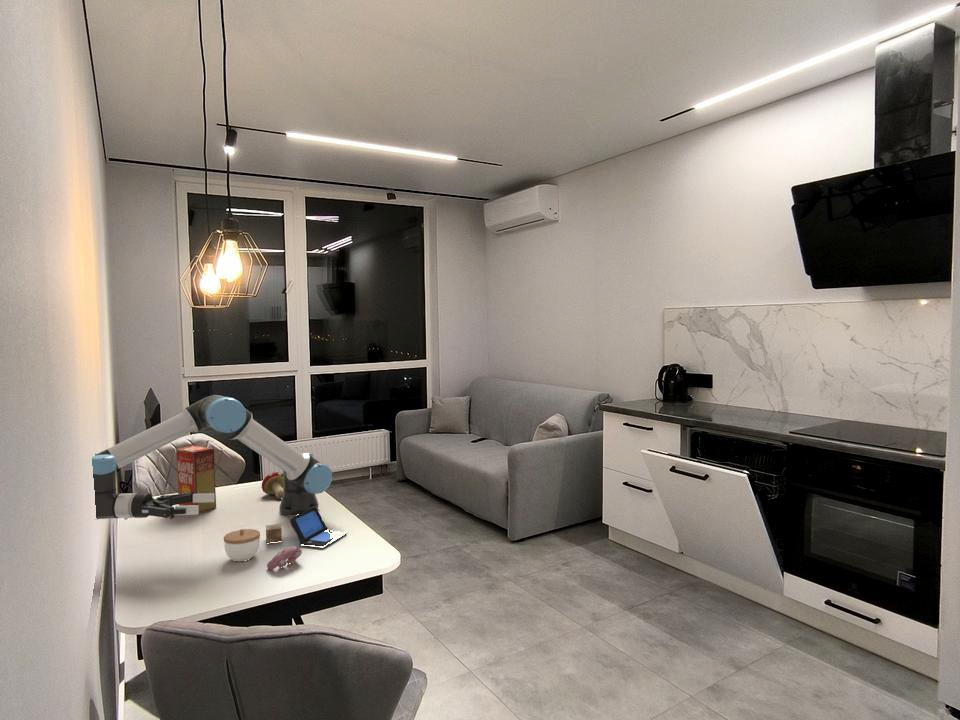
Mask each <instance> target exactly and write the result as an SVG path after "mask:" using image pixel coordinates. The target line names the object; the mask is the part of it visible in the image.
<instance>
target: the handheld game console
mask: <svg viewBox="0 0 960 720" xmlns="http://www.w3.org/2000/svg"><path fill="white" fill-rule="evenodd" d="M289 521H290V524H291V527H292V529H293V531H294V532H295V535H296V536H297V538H298V541H299V545H300V544H304V545H315V546H324V545H326V544H327V543H328V542H330V541H331V540H332V539H333V538H332V539H330V534H329V533H328V532H324V531H325V530H327V529H329V528H328V527H327V525H326V523H325V521H323V518H322V516H321V514H320V512H319V509H318V510H317V509H316V508H312V509H310V510H308V511H305V512H303V513H301V514H299V515H297V516H292V517H291V518H290V519H289ZM330 530H331V529H330ZM330 530H329V532H330ZM330 533H332V532H330Z"/></svg>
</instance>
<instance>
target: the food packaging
mask: <svg viewBox="0 0 960 720" xmlns="http://www.w3.org/2000/svg"><path fill="white" fill-rule="evenodd" d="M175 453H176V454H175V455H176V457H175V458H176V473H177V494H182V493H190V492H191V491H194V494H210V493H214V502H202V503H193V502H188V503H183V504H178V506H189V505H198V508H199V514H200V513H204V511H205V512H208V511H211V509H212V510H215V509H217V496H216V495H217V493H216V473H215V472H216V470H215V468H216V467H215V464H216V463H215V448H213V447H208V446H207V447H206V446H202V445H201V446H200V445H199V446H198V445H190V446H185V447H180V448H176V449H175Z"/></svg>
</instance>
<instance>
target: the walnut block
mask: <svg viewBox="0 0 960 720" xmlns="http://www.w3.org/2000/svg"><path fill="white" fill-rule="evenodd" d="M282 535H283V533H282V523H277V524H268V525H265V543H270V542H278V541H282V542H283V539H282V538H283V536H282Z"/></svg>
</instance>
